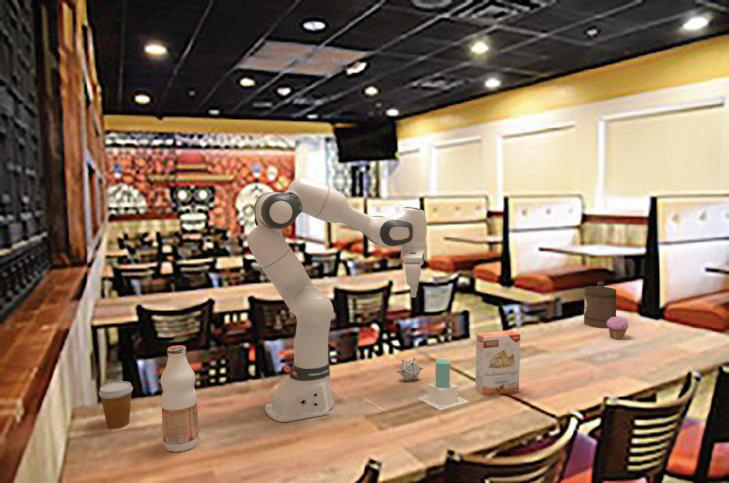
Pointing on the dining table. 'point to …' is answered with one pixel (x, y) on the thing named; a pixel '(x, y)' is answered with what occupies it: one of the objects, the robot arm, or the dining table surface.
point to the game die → (409, 370)
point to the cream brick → (442, 394)
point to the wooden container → (599, 305)
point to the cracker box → (497, 362)
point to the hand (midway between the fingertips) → (414, 294)
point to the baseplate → (441, 407)
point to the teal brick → (443, 373)
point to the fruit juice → (179, 402)
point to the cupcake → (617, 327)
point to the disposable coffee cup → (116, 403)
